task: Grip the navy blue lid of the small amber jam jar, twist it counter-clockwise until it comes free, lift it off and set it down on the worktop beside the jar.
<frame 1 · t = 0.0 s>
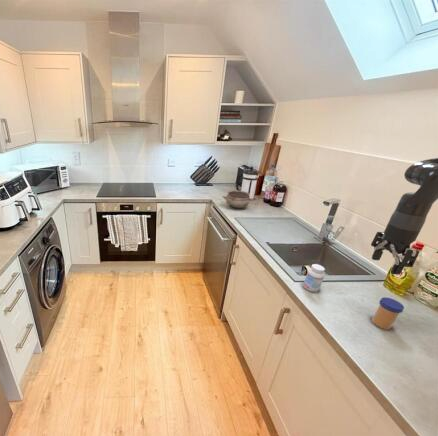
hand: (384, 266, 83), 22 cm above the worktop, tool pointing down, fingers open, 8 cm apart
pill bottle: (310, 288, 106), on the worktop
lid: (391, 304, 84), point 9 cm above the worktop, screwed on, not yet turned
jar: (381, 323, 87), on the worktop
coffee press: (244, 198, 219), on the worktop
cooking pot: (236, 207, 199), on the worktop
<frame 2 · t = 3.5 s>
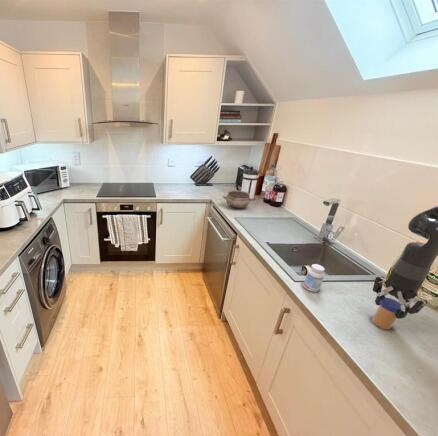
hand: (388, 310, 85), 6 cm above the worktop, tool pointing down, fingers closed on lid, 6 cm apart
lid: (391, 304, 84), point 9 cm above the worktop, screwed on, not yet turned, touching gripper
everything else where it was.
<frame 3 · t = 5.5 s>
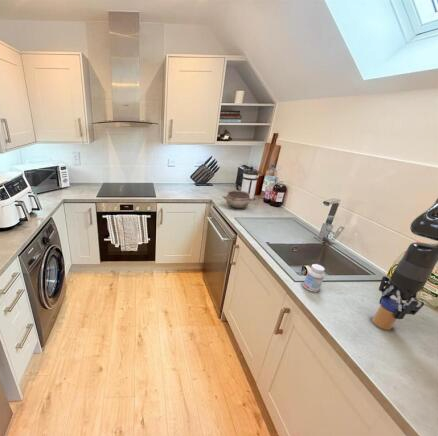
hand: (389, 311, 84), 7 cm above the worktop, tool pointing down, fingers closed on lid, 6 cm apart
lid: (393, 304, 83), point 10 cm above the worktop, off its thread, touching gripper
everything else where it was.
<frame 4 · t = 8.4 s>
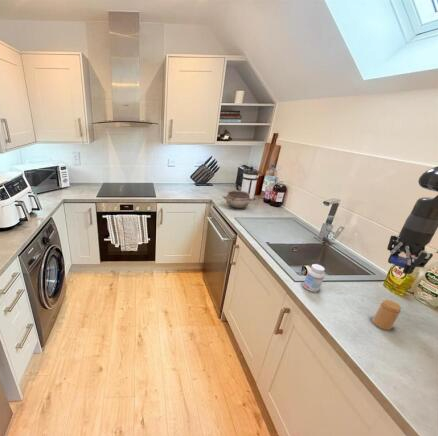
hand: (398, 268, 88), 19 cm above the worktop, tool pointing down, fingers closed on lid, 6 cm apart
lid: (402, 260, 87), point 22 cm above the worktop, off its thread, touching gripper
everything else where it was.
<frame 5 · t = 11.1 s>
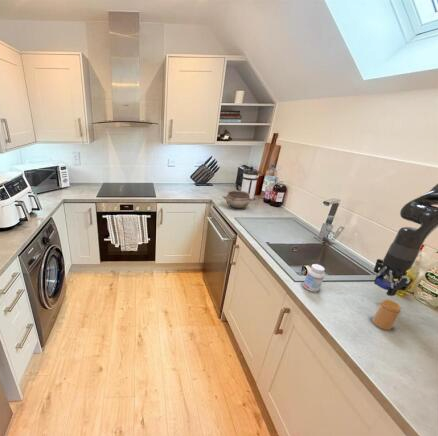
hand: (383, 289, 95), 6 cm above the worktop, tool pointing down, fingers closed on lid, 6 cm apart
lid: (386, 283, 94), point 10 cm above the worktop, off its thread, touching gripper
everything else where it was.
when the fingers open (0 cm above the worktop, at t = 13.4 s): lid drops 1 cm, point 1 cm above the worktop.
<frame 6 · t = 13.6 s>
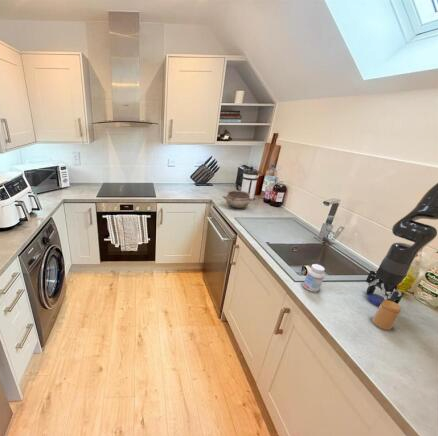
hand: (375, 300, 98), 0 cm above the worktop, tool pointing down, fingers open, 7 cm apart
lid: (378, 299, 97), point 1 cm above the worktop, off its thread
everything else where it was.
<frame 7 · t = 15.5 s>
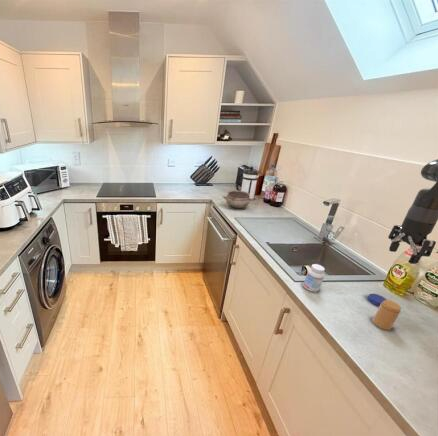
hand: (401, 257, 90), 21 cm above the worktop, tool pointing down, fingers open, 8 cm apart
nothing on the worktop moved.
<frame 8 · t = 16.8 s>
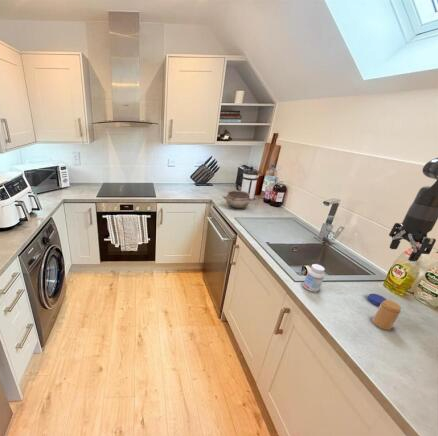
hand: (402, 254, 90), 22 cm above the worktop, tool pointing down, fingers open, 8 cm apart
nothing on the worktop moved.
at the end: lid came off its thread; lid point 1.3 cm above the worktop; the gripper is holding nothing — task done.
